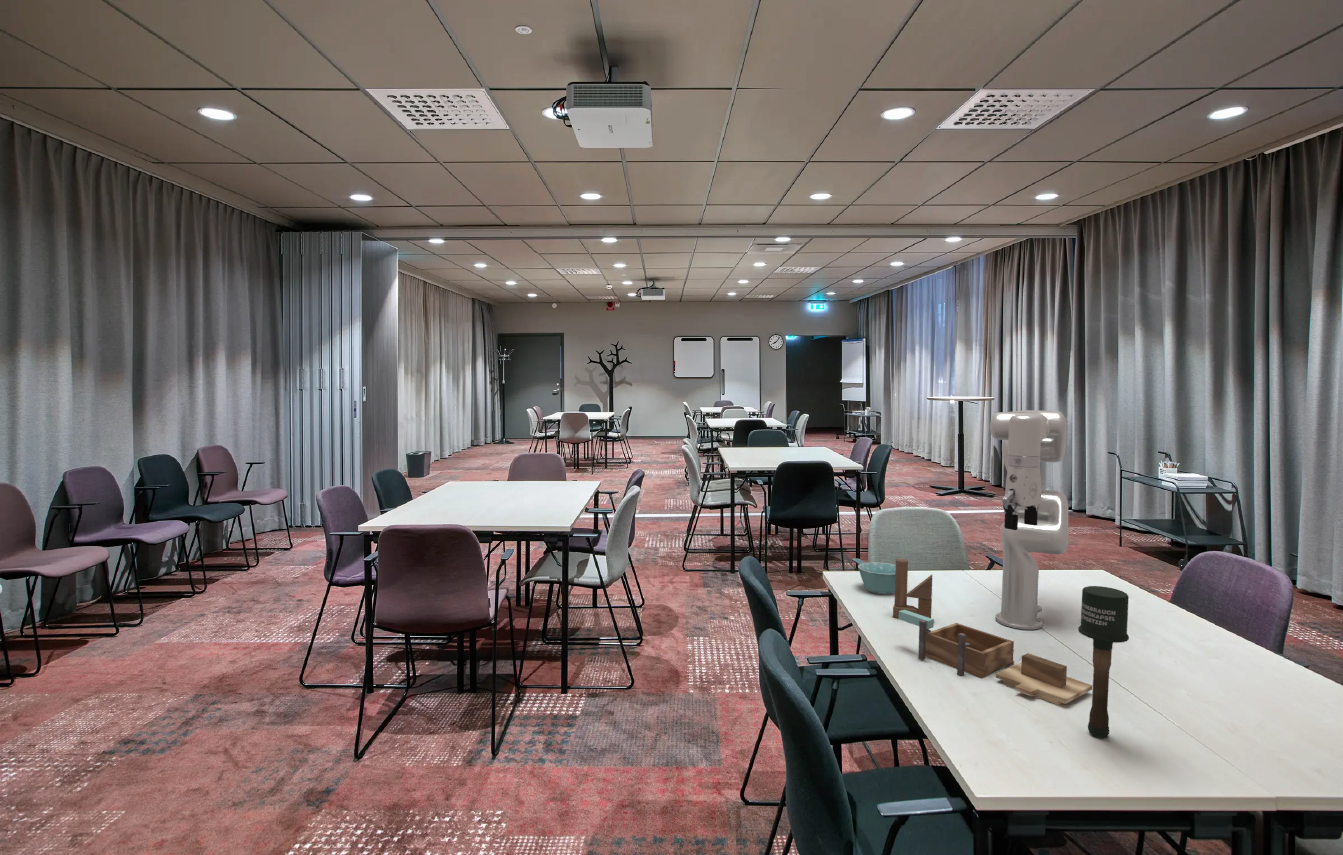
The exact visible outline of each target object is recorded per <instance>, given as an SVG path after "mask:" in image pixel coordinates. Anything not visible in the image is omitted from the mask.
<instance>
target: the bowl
mask: <svg viewBox="0 0 1343 855" xmlns="http://www.w3.org/2000/svg"><path fill="white" fill-rule="evenodd" d="M857 567H858V568H857V569H858V571H859V575H860V578H861V580H862V583H863V586H864V588H865V589H866V590H867V591H869V592H870V593H872V594H875V595H876V594H877V595H882V596H883V595H884V596H885V595H893V594H895V568H896V564H893V563H889V562H888V563H887V562H878V561H877V562H875V561H873V562H864V563H859V564H858V565H857Z"/></svg>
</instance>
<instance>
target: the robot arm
mask: <svg viewBox="0 0 1343 855" xmlns="http://www.w3.org/2000/svg"><path fill="white" fill-rule="evenodd" d="M1067 426H1068V425H1067V420H1066V417H1065V415H1064V414H1063V413H1062V412H1061V411H1058V410H1040V409H1039V410H1035V409H1034V410H1033V409H1031V410H1029V409H1026V410H1025V409H1024V410H1015V411H1002V412H1001V411H1000V412H999V411H997V412H995V413H994V414H993V415H992V417H991V419H990V423H989V430H990V435H991V437H992V438H993V439H994V440H999V441H1002V444H1001V453H1002V459H1003V463H1004V464H1003V465H1004V467H1005V469H1006V471H1007V473H1006V480H1005V488H1004V489H1005V492H1004V495H1003V497H1002V498H1001V501H1002V508H1003V513H1004V521H1003V522H1002V525H1001V527H1000V537H1001V543H1002V544H1001V545H1002V582H1001V583H1002V584H1001V604H1000V605H1001V607H1000V609H1001V610H1000V612H997V613H996V614H995V615H994V616H995V617H994V618H995V621H996V622H998V623H999V624H1001V625H1003V626H1005V627H1006V626H1007V627H1009V628H1013V629H1019V630H1025V631H1026V630H1028V631H1029V630H1032V631H1033V630H1039V629H1041V628H1043V621H1042V620H1041V619H1040V618H1038V617H1037V616H1038V613H1041V612H1042V611H1043V609H1042V606H1041V605H1038V596H1039V578H1040V576H1039V572H1040V568H1039V565H1038V563H1037V561H1036V559H1035V558H1034V557H1033V556H1032V554H1031V553H1038V554H1040V553H1041V554H1048V555H1061V554H1064V553H1066V551H1067V549H1068V546H1069V502H1068V499H1067V496H1066V495H1065V494H1064V493H1063V492H1062V491H1058V490H1053V489H1052V490H1050V489H1049V490H1048V489H1042V477H1041V468H1040V467H1041V466H1040V465H1041V463H1053V464H1054V463H1059V462H1061V461H1062V460H1063V459H1064V458H1065V455H1066V448H1067V435H1068V431H1067V430H1068V427H1067Z"/></svg>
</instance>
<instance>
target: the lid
mask: <svg viewBox="0 0 1343 855" xmlns="http://www.w3.org/2000/svg"><path fill="white" fill-rule="evenodd" d="M1067 673H1068V666H1067V665H1065V664H1062V663H1059V662H1056V661H1052V660H1049V659H1047V658H1043V657H1041V656H1038V655H1036V654H1035V655H1034V654H1032V653H1029V652H1027V653H1024V654H1022V655H1021V662H1018V663H1017V664H1013V665H1011V666H1009V667H1006V668H1004V669H1002V670H1000V671H997V672H995V678H996V679H998V680H1001V681H1002V682H1003V685H1004V686H1005V685H1006V686H1007V687H1010V688H1013V689H1014V691H1016V692H1019V693H1021V694H1024V695H1027V696H1029V697H1036V698H1039V699H1041V700H1044V701H1046V702H1048V703H1049V702H1050V703H1052V704H1054V705H1057V706H1059V705H1061V704H1064V705H1066V704H1069V703H1070V702H1072V701H1073V700H1075V699H1077V698H1079V697H1081V696H1082V695H1085V694H1087V693H1088V692H1090V691H1093V684H1089V683H1087V682H1084V681H1081V680H1079V679H1078V680H1077V679H1075V678H1072V677H1069V676H1068V675H1067Z"/></svg>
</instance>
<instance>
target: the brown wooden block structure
mask: <svg viewBox="0 0 1343 855" xmlns="http://www.w3.org/2000/svg"><path fill="white" fill-rule="evenodd" d="M895 565H896V568H895V593H894V604H893V607H892V618H895V619H899V611H901V610H907V611H910V612H913V613H916V614H919V615H922V616H925V617H928V618H931V619H932V604H933V603H932V602H933V600H932V597H933V574H930V575H929V576H928V577H926V579H923V581H921V582H920V583H919V584H917V585H916V586H915V587H913V588H911V590H909V591H908V577H909V576H908V575H909V574H908V573H909V567H908V566H909V560H908V559H905V558H900V557H899V558H895ZM908 598H914V599H917V600H918V601H917V607H916V606H914V605H912V604H911V605H909V604H908Z"/></svg>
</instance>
